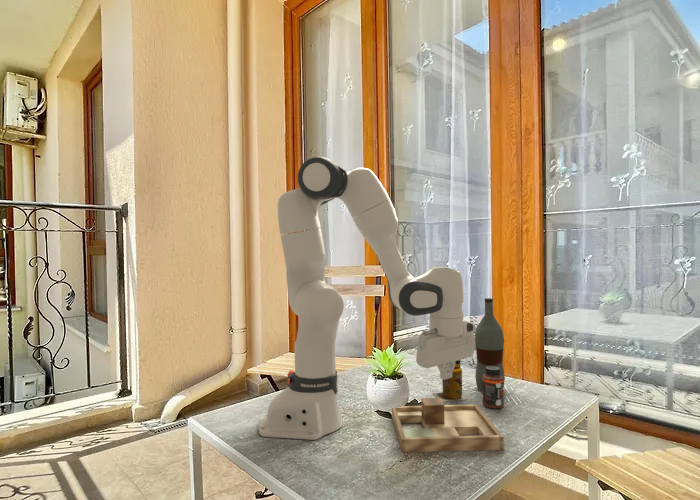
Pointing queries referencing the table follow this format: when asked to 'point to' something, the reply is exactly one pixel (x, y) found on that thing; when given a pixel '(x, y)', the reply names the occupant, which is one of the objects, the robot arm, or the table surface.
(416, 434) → the wooden compartment tray
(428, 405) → the walnut block
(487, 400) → the supplement bottle
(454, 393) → the condiment
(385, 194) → the robot arm
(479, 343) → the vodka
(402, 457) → the table surface
